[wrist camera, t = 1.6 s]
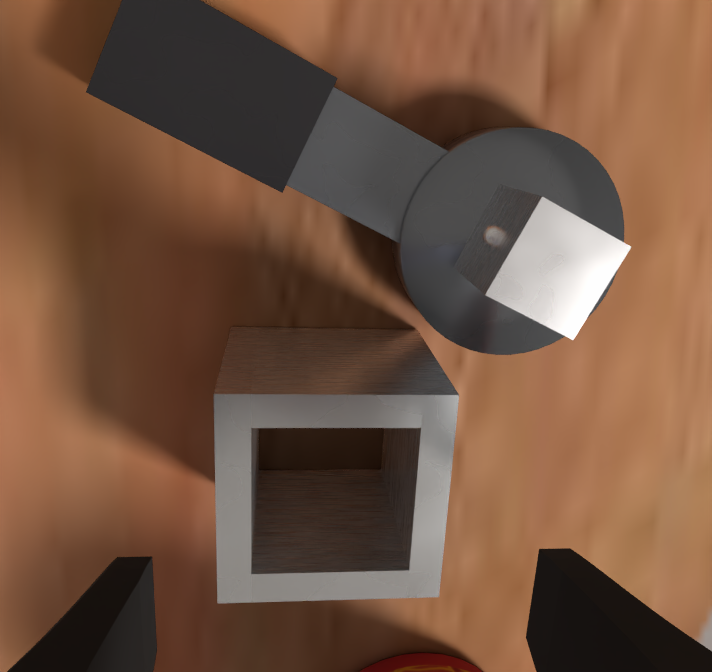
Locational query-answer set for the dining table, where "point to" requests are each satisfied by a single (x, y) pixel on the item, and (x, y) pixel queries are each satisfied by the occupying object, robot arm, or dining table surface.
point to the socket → (332, 487)
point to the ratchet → (384, 174)
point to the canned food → (422, 664)
